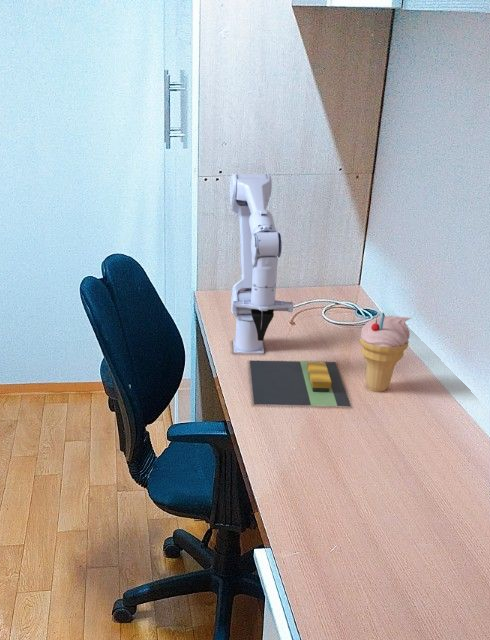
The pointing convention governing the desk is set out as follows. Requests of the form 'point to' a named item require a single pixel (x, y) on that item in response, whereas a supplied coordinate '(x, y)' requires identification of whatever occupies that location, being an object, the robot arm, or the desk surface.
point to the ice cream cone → (383, 349)
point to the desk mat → (293, 385)
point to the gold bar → (319, 376)
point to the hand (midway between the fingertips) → (260, 339)
